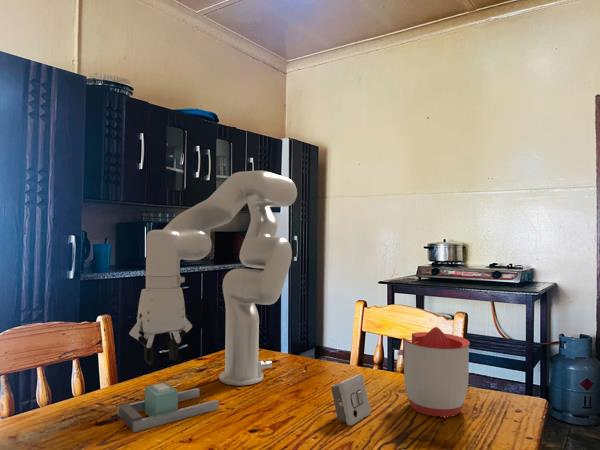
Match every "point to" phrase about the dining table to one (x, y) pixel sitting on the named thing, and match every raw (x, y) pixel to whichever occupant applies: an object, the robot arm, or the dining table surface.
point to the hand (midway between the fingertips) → (161, 360)
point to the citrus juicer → (436, 372)
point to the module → (160, 399)
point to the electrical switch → (351, 400)
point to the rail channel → (137, 423)
